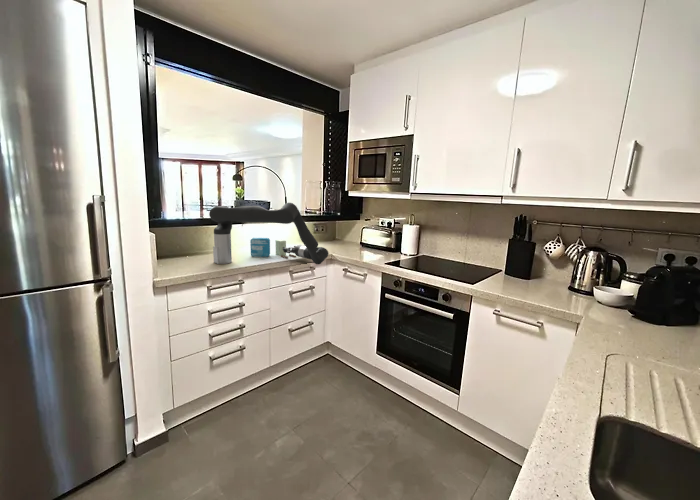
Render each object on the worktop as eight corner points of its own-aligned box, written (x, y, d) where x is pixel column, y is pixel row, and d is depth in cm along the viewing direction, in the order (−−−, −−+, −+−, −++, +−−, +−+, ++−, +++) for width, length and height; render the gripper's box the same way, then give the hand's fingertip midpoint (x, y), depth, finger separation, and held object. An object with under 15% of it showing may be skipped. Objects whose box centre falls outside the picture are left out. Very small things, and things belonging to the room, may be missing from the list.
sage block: (280, 255, 210) (280, 241, 208) (275, 254, 214) (275, 240, 212) (286, 255, 213) (285, 240, 211) (281, 253, 217) (281, 239, 215)
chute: (286, 258, 202) (286, 257, 202) (280, 256, 207) (280, 255, 207) (296, 257, 207) (296, 255, 207) (290, 255, 212) (290, 254, 212)
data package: (250, 256, 204) (250, 238, 202) (251, 255, 209) (251, 237, 207) (269, 256, 206) (269, 238, 204) (270, 255, 210) (269, 237, 208)
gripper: (312, 244, 199) (297, 241, 210) (293, 246, 189) (279, 243, 200) (312, 256, 200) (297, 252, 211) (293, 258, 190) (279, 254, 201)
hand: (288, 248), depth 206 cm, fingers open, 8 cm apart
